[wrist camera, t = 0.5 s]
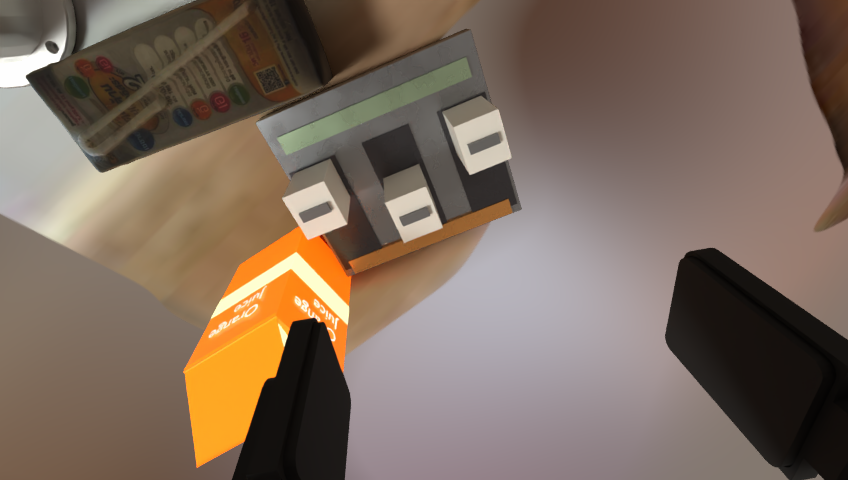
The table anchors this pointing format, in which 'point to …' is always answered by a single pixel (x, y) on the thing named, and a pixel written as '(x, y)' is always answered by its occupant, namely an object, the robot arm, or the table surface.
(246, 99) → the beverage carton
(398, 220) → the breaker mid
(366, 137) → the panel
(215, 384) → the orange juice
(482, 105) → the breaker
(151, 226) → the table surface
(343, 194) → the breaker
